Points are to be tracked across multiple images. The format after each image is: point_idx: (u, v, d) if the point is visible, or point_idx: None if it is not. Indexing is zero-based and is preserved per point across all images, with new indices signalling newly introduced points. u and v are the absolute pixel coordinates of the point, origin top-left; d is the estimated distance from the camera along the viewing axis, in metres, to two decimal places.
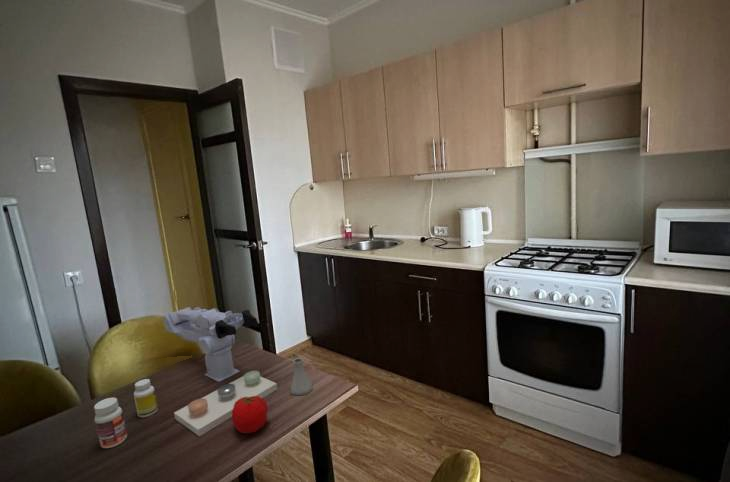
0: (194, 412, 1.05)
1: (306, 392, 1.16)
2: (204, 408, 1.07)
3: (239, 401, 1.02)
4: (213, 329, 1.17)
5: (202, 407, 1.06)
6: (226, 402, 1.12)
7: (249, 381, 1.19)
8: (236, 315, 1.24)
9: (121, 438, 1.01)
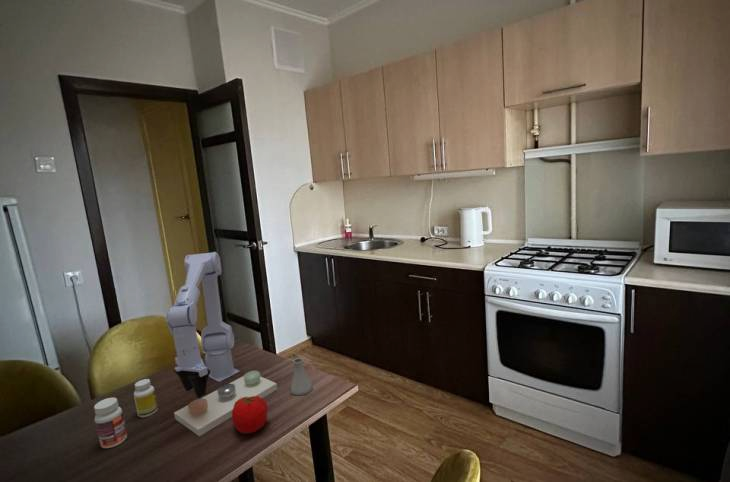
0: (194, 412, 1.05)
1: (306, 392, 1.16)
2: (204, 408, 1.07)
3: (239, 401, 1.02)
4: None
5: (202, 407, 1.06)
6: (226, 402, 1.12)
7: (249, 381, 1.19)
8: None
9: (121, 438, 1.01)
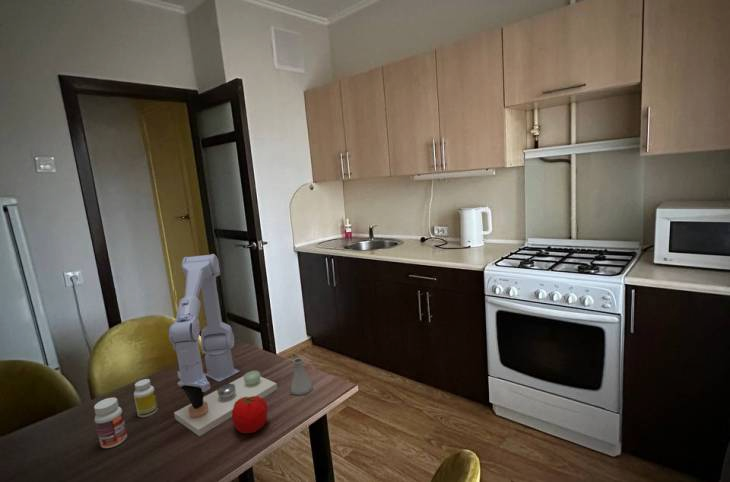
0: (195, 415, 1.05)
1: (306, 392, 1.16)
2: (205, 411, 1.07)
3: (239, 401, 1.02)
4: None
5: (203, 410, 1.06)
6: (226, 402, 1.12)
7: (249, 381, 1.19)
8: None
9: (121, 438, 1.01)
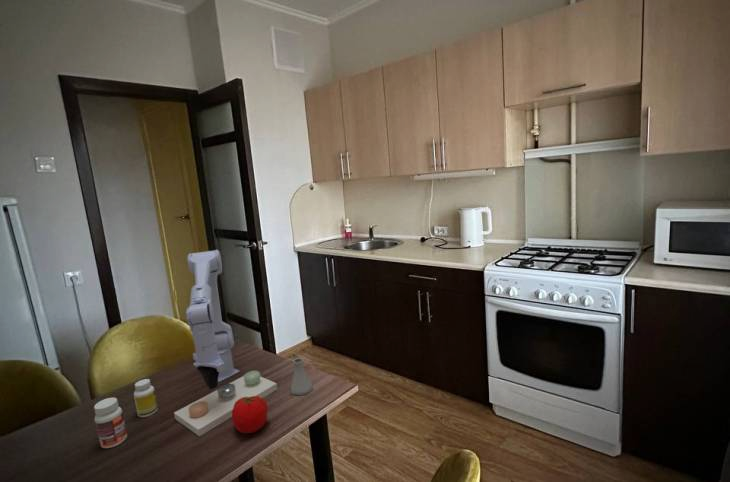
0: (195, 415, 1.05)
1: (306, 392, 1.16)
2: (205, 411, 1.07)
3: (239, 401, 1.02)
4: None
5: (203, 410, 1.06)
6: (226, 402, 1.12)
7: (249, 381, 1.19)
8: None
9: (121, 438, 1.01)
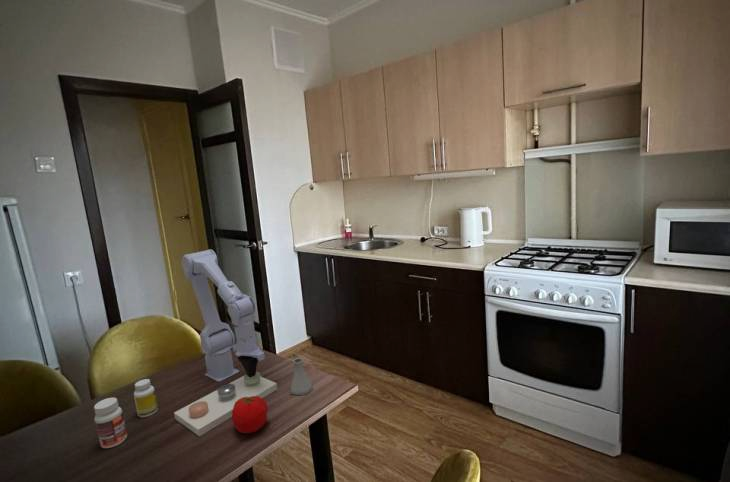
0: (195, 415, 1.05)
1: (306, 392, 1.16)
2: (205, 411, 1.07)
3: (239, 401, 1.02)
4: None
5: (203, 410, 1.06)
6: (226, 402, 1.12)
7: (249, 382, 1.19)
8: None
9: (121, 438, 1.01)
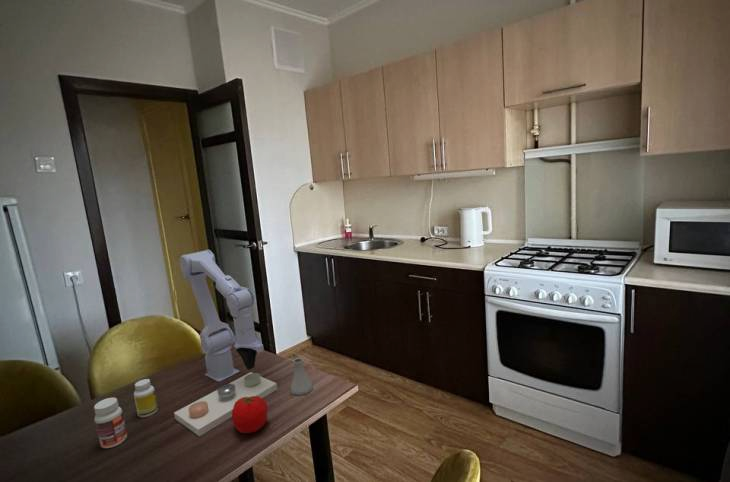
0: (195, 415, 1.05)
1: (306, 392, 1.16)
2: (205, 411, 1.07)
3: (239, 401, 1.02)
4: None
5: (203, 410, 1.06)
6: (226, 402, 1.12)
7: (249, 384, 1.19)
8: None
9: (121, 438, 1.01)
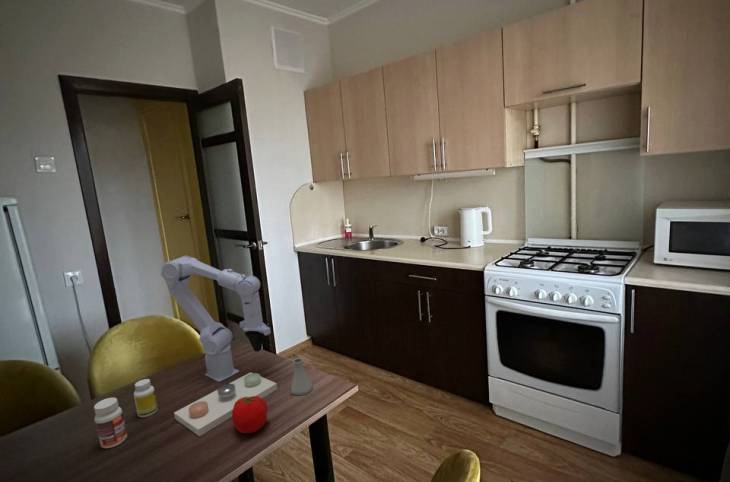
0: (195, 415, 1.05)
1: (306, 392, 1.16)
2: (205, 411, 1.07)
3: (239, 401, 1.02)
4: None
5: (203, 410, 1.06)
6: (226, 402, 1.12)
7: (249, 384, 1.19)
8: None
9: (121, 438, 1.01)
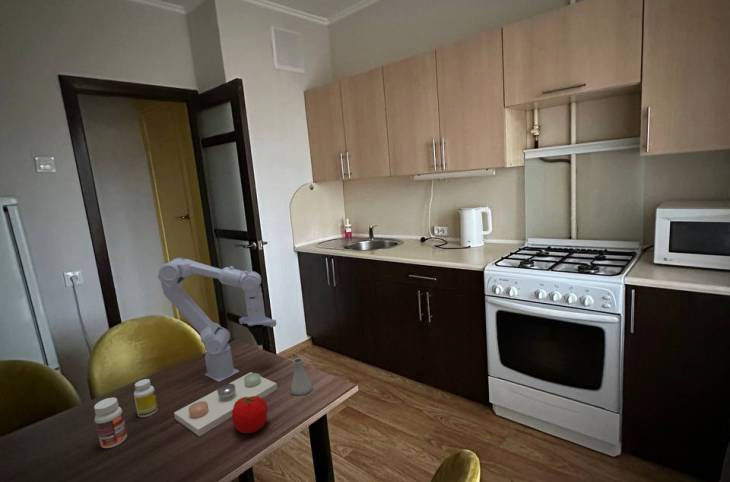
0: (195, 415, 1.05)
1: (306, 392, 1.16)
2: (205, 411, 1.07)
3: (239, 401, 1.02)
4: None
5: (203, 410, 1.06)
6: (226, 402, 1.12)
7: (249, 384, 1.19)
8: None
9: (121, 438, 1.01)
